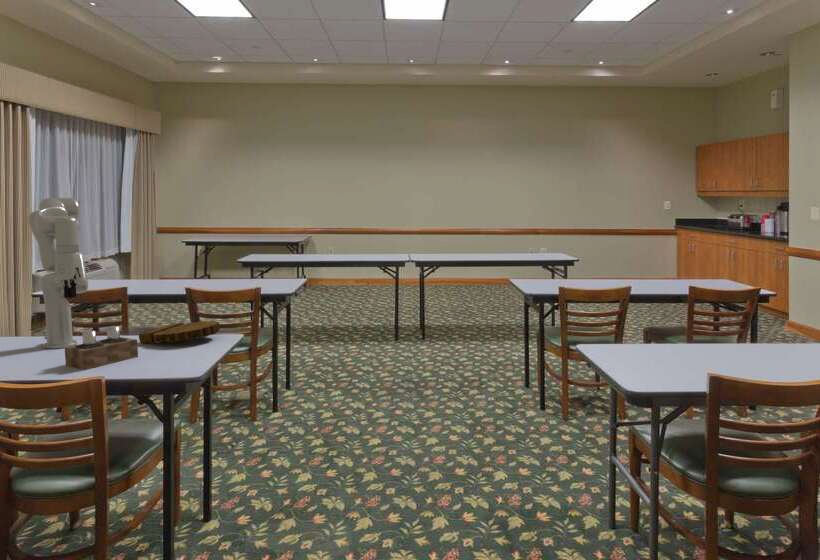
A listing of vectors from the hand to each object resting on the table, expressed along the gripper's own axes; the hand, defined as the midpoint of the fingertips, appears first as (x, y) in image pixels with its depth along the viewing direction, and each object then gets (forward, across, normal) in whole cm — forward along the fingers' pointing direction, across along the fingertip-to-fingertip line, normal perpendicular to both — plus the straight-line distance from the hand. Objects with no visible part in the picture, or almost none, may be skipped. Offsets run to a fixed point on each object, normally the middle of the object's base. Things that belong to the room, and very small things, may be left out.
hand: (70, 297), depth 224 cm
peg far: (+20, +10, +10) cm, 25 cm away
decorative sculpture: (+25, +8, +47) cm, 54 cm away
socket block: (+25, +10, +5) cm, 27 cm away
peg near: (+20, +10, 0) cm, 22 cm away
